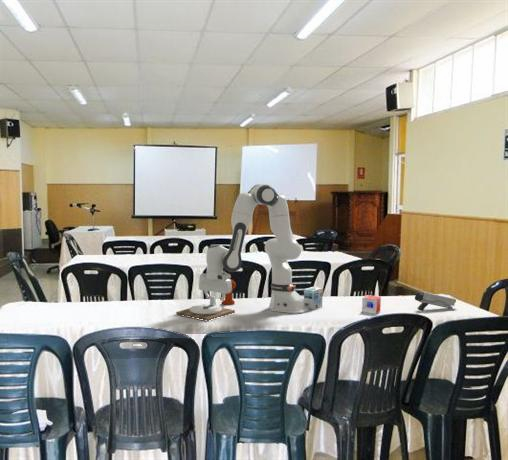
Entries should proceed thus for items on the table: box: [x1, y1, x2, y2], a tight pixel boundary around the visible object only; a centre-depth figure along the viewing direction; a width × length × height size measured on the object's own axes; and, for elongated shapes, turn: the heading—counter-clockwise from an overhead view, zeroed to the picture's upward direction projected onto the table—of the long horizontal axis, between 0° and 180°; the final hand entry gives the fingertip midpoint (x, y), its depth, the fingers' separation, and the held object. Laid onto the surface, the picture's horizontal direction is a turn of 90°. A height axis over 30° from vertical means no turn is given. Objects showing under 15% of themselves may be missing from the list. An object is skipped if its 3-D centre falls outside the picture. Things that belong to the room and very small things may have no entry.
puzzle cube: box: [361, 294, 382, 314], centre depth 265 cm, size 8×8×8 cm
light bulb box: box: [303, 286, 324, 310], centre depth 272 cm, size 11×7×11 cm, turn 143°
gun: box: [414, 291, 457, 311], centre depth 271 cm, size 2×25×10 cm, turn 101°
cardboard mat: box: [175, 304, 236, 322], centre depth 255 cm, size 22×22×2 cm
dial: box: [189, 295, 223, 315], centre depth 255 cm, size 17×17×6 cm
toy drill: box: [221, 278, 237, 306], centre depth 277 cm, size 5×19×15 cm, turn 100°
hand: (215, 299), depth 261 cm, fingers open, 8 cm apart
